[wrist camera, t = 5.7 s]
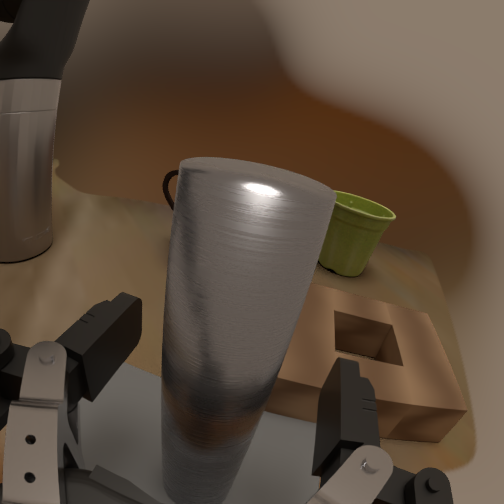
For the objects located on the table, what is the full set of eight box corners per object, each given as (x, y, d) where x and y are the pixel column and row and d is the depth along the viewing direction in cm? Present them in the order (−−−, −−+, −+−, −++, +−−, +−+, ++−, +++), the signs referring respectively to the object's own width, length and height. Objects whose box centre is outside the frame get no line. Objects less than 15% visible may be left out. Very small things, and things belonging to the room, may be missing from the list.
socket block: (242, 409, 18) (254, 371, 16) (272, 308, 28) (282, 274, 27) (438, 442, 16) (467, 410, 15) (411, 343, 27) (427, 313, 26)
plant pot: (385, 286, 38) (410, 222, 34) (321, 282, 35) (344, 209, 32) (353, 253, 46) (371, 198, 42) (295, 246, 43) (312, 185, 40)
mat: (22, 470, 9) (19, 467, 9) (110, 360, 18) (109, 355, 18) (302, 577, 8) (305, 577, 8) (321, 428, 17) (323, 424, 17)
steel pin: (153, 496, 11) (150, 169, 5) (176, 448, 14) (210, 152, 8) (220, 519, 10) (342, 215, 5) (236, 467, 13) (333, 182, 8)
